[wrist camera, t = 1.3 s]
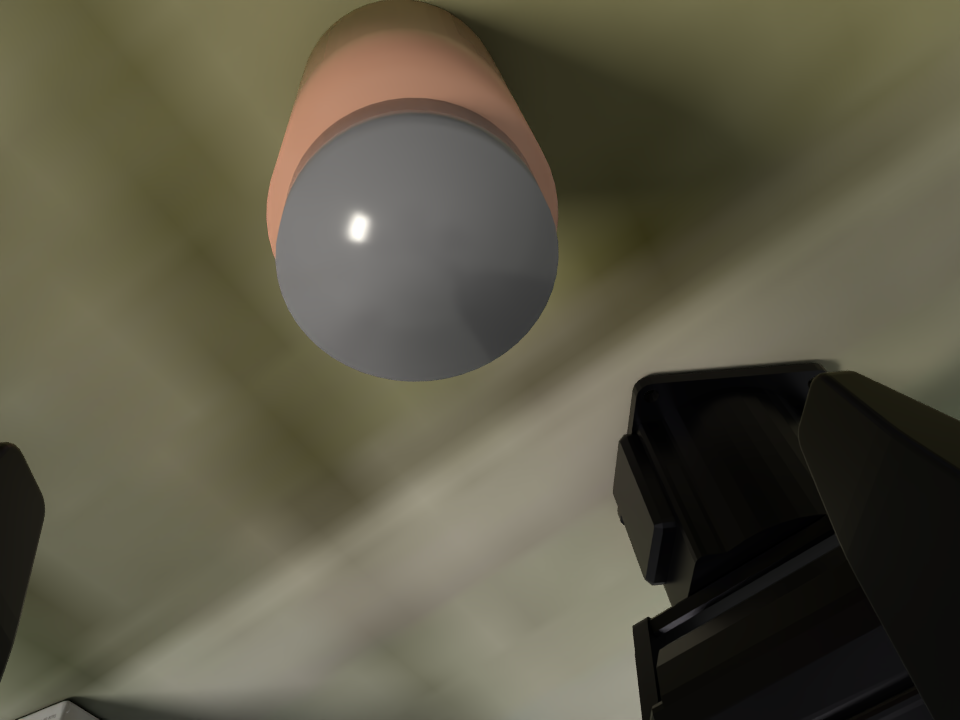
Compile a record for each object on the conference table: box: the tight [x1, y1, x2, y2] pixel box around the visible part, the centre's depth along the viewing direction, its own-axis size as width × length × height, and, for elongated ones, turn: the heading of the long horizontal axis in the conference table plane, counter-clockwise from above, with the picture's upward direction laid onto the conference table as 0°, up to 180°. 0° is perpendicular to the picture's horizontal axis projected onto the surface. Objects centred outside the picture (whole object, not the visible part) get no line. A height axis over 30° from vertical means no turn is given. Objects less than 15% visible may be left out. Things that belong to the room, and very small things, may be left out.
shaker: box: [267, 0, 558, 381], centre depth 15 cm, size 5×5×8 cm
